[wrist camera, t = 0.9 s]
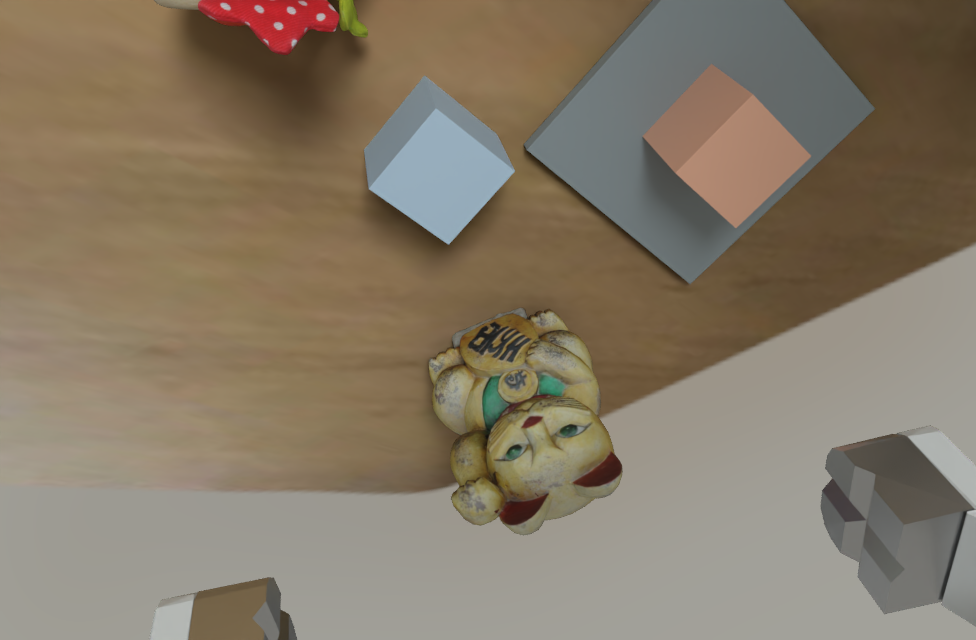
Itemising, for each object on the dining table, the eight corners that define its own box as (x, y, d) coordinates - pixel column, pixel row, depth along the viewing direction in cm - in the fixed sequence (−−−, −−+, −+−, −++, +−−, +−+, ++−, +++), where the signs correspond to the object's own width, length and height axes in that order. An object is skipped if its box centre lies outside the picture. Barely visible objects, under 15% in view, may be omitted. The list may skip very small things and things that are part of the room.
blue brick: (424, 75, 42) (436, 108, 37) (496, 133, 44) (515, 171, 40) (364, 149, 43) (368, 188, 39) (436, 202, 46) (448, 244, 41)
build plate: (717, -73, 40) (724, -71, 39) (867, 104, 47) (875, 108, 46) (523, 144, 44) (526, 149, 44) (685, 277, 51) (689, 284, 50)
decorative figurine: (549, 271, 49) (626, 438, 37) (598, 365, 54) (681, 542, 41) (407, 343, 50) (435, 529, 38) (467, 429, 55) (510, 620, 42)
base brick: (711, 63, 43) (753, 94, 39) (766, 121, 45) (811, 156, 41) (642, 136, 44) (675, 173, 40) (699, 188, 47) (735, 228, 43)
